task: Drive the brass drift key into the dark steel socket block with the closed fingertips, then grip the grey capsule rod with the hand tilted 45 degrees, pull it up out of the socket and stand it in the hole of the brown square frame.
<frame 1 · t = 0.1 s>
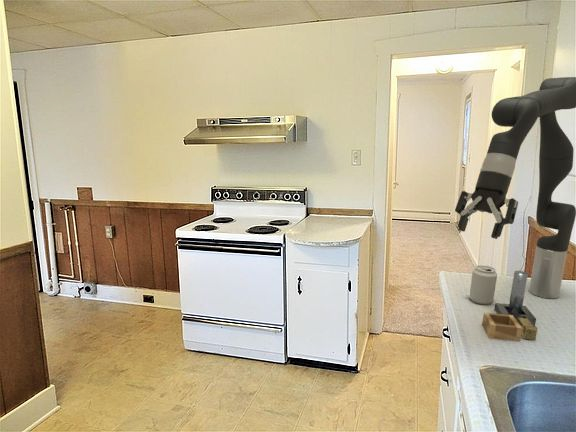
hand: (477, 234, 105), 31 cm above the countertop, tool tilted 20°, fingers open, 8 cm apart
can: (480, 301, 140), on the countertop
drift key: (526, 327, 118), point 2 cm above the countertop, slide at 0.0 cm
socket block: (513, 317, 128), on the countertop
brown square frame: (500, 332, 119), on the countertop
grey capsule rod: (517, 295, 126), in the socket block
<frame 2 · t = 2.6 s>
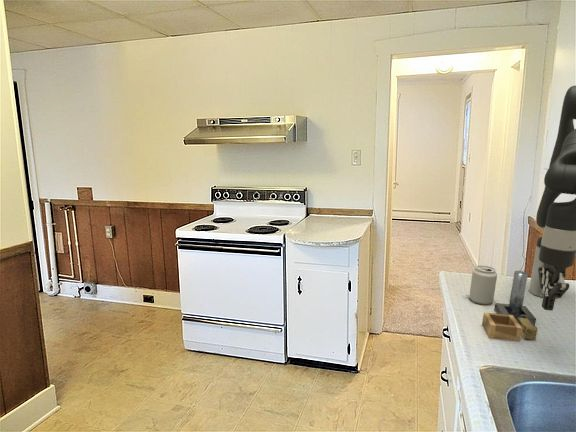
hand: (547, 308, 106), 13 cm above the countertop, tool pointing down, fingers closed
nothing on the countertop moved.
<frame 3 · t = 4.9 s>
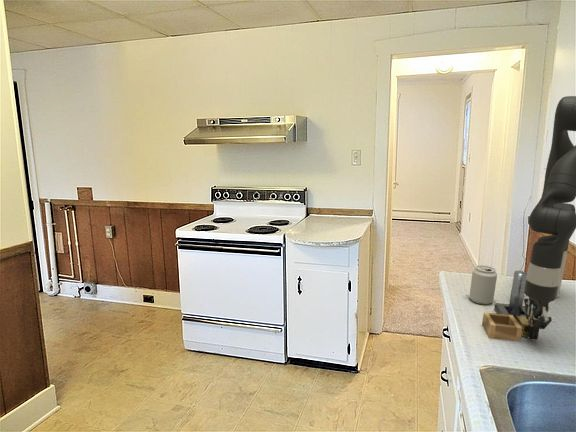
hand: (532, 338, 114), 1 cm above the countertop, tool pointing down, fingers closed
drift key: (524, 325, 119), point 2 cm above the countertop, slide at 1.3 cm, touching gripper
everything else where it was.
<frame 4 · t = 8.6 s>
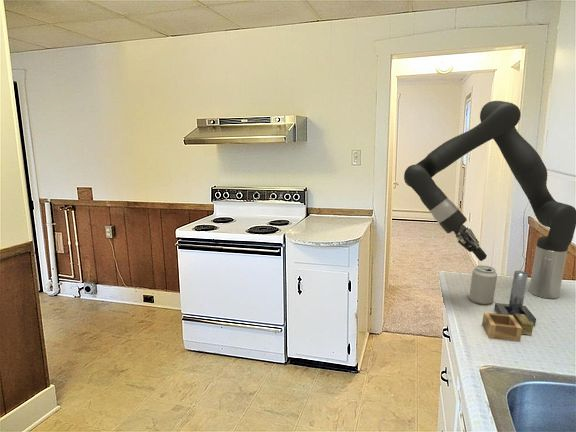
hand: (483, 258, 129), 18 cm above the countertop, tool tilted 45°, fingers closed
drift key: (522, 322, 121), point 2 cm above the countertop, slide at 2.9 cm
everything else where it was.
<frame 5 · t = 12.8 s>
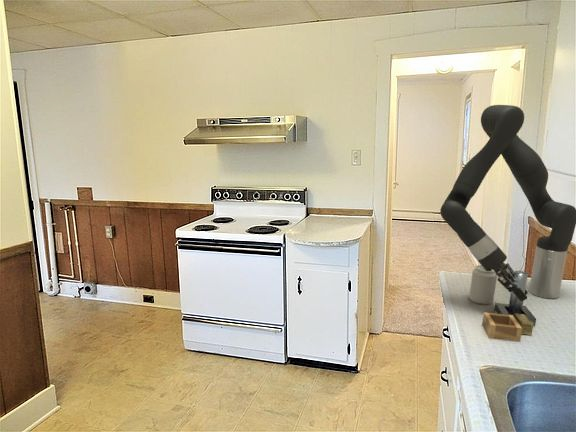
hand: (524, 297, 125), 8 cm above the countertop, tool tilted 45°, fingers closed on grey capsule rod, 3 cm apart
grey capsule rod: (517, 295, 126), in the socket block, touching gripper
everything else where it was.
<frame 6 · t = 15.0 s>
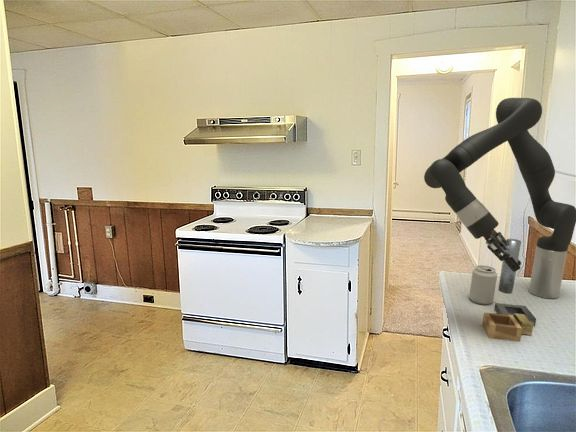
hand: (517, 267, 114), 20 cm above the countertop, tool tilted 45°, fingers closed on grey capsule rod, 3 cm apart
grey capsule rod: (509, 266, 115), point 20 cm above the countertop, touching gripper
everything else where it was.
when the fingers open (9 cm above the countertop, at t = 17.5 s): grey capsule rod drops 1 cm, resting in brown square frame.
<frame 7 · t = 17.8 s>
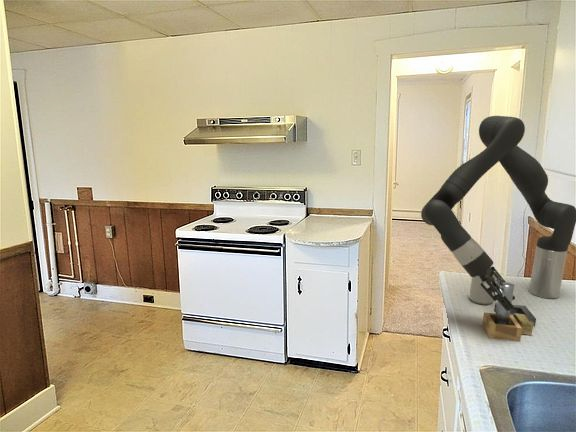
hand: (511, 304, 116), 9 cm above the countertop, tool tilted 45°, fingers open, 6 cm apart
grey capsule rod: (503, 308, 117), in the brown square frame
everything else where it was.
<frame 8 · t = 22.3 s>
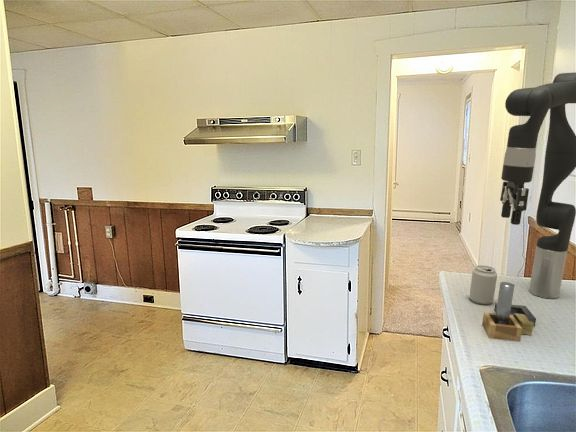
hand: (509, 220, 117), 32 cm above the countertop, tool pointing down, fingers open, 8 cm apart
nothing on the countertop moved.
at the end: grey capsule rod 0.1 cm off-centre on the brown square frame, point 7.5 cm above the brown square frame's base; grey capsule rod tilted 0°; drift key slide at 2.9 cm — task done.
